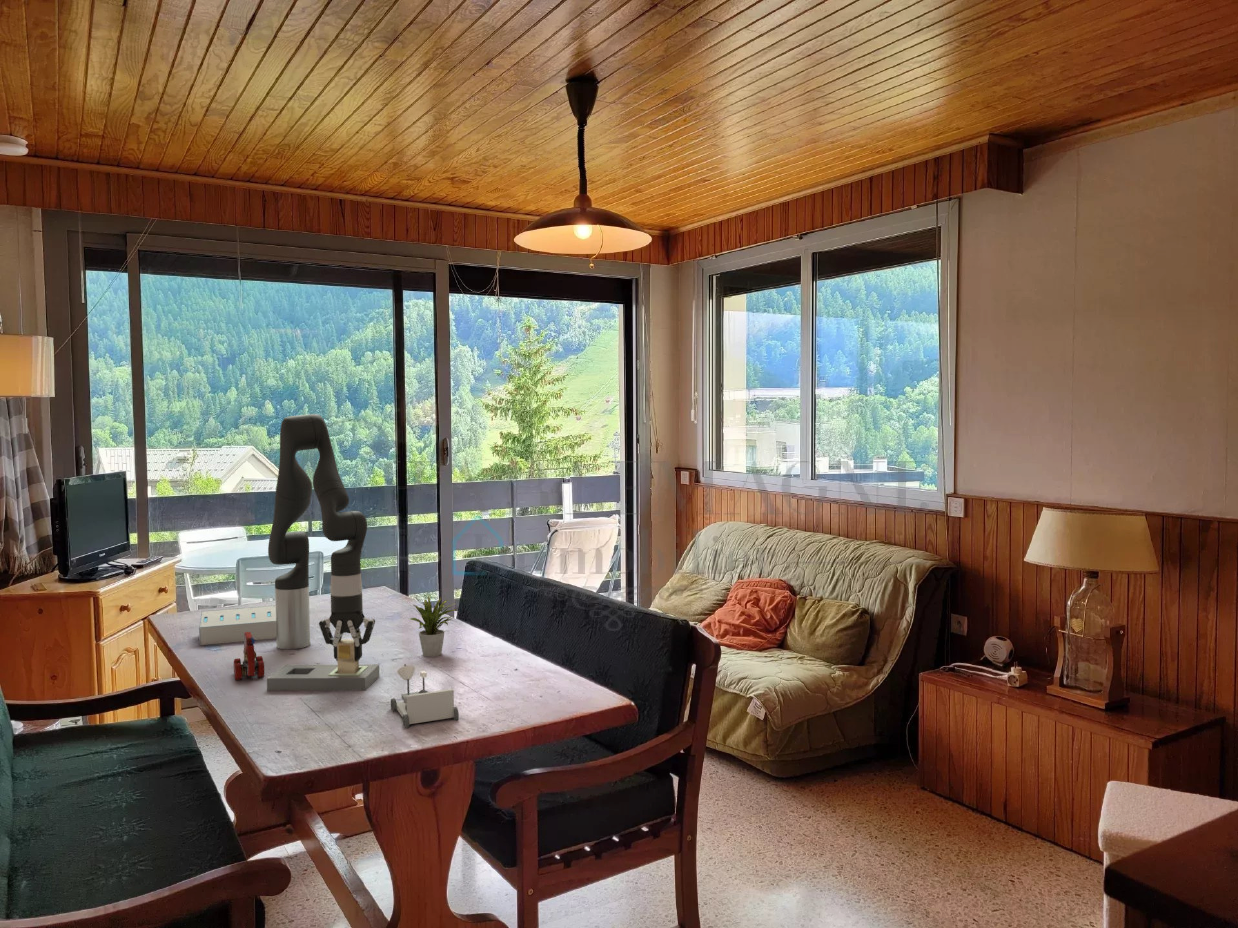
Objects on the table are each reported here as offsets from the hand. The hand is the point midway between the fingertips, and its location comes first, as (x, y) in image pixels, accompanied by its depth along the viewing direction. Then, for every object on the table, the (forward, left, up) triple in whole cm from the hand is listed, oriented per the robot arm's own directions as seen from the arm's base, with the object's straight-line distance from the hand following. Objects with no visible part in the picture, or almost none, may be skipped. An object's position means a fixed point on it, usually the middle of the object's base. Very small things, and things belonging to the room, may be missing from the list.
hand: (348, 659), depth 224 cm
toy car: (+22, +24, -6) cm, 33 cm away
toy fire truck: (-7, -28, -6) cm, 30 cm away
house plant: (-26, +15, -6) cm, 31 cm away
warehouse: (-51, -45, -6) cm, 68 cm away
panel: (0, -6, -6) cm, 8 cm away
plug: (0, 0, -4) cm, 4 cm away
